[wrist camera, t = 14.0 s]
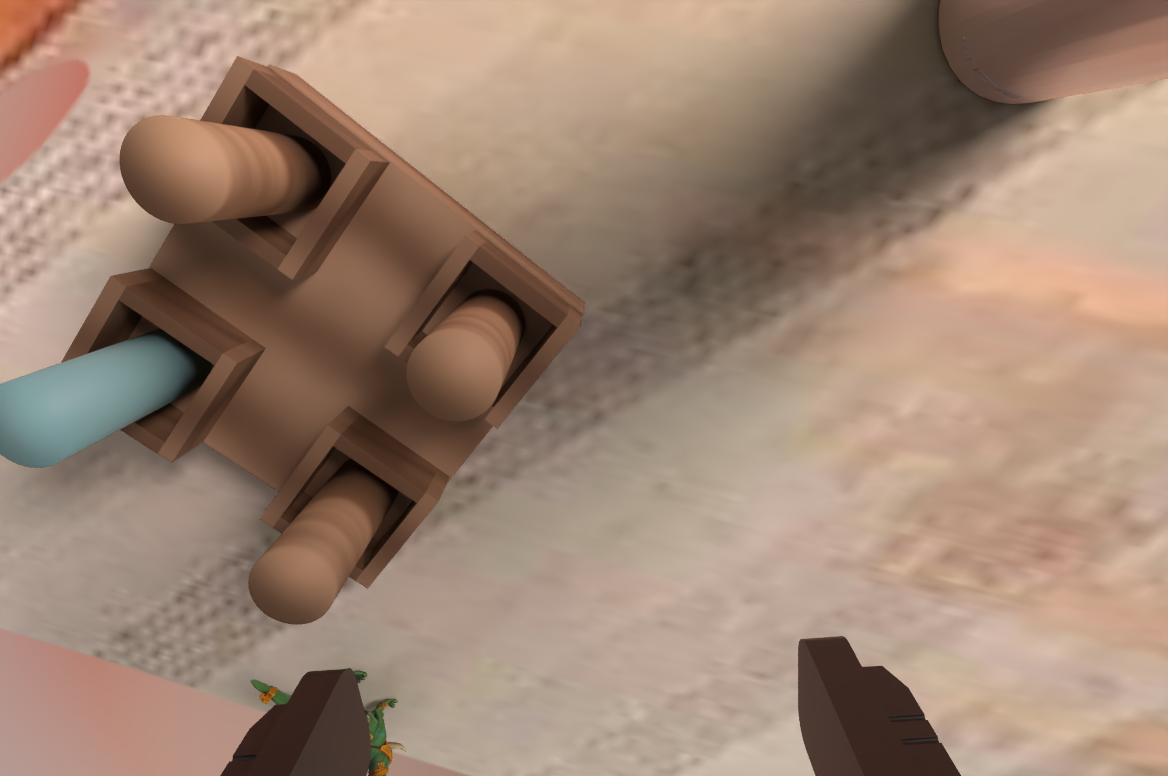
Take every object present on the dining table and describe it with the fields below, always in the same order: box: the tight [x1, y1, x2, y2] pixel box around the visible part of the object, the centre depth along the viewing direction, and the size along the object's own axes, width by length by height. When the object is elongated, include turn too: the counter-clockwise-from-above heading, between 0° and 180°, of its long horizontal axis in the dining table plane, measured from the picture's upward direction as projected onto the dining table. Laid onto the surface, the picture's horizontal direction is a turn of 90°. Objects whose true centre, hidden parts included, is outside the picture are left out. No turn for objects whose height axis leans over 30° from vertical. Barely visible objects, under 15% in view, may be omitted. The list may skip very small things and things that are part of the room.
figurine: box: [250, 668, 406, 776], centre depth 41 cm, size 3×12×8 cm, turn 44°
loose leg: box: [0, 328, 211, 468], centre depth 31 cm, size 4×4×10 cm
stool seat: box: [61, 56, 585, 624], centre depth 32 cm, size 19×19×13 cm
